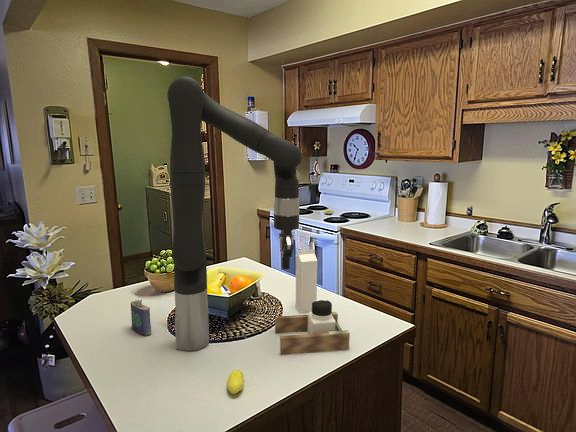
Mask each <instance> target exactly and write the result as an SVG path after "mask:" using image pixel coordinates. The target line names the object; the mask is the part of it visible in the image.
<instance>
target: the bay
mask: <svg viewBox="0 0 576 432" xmlns="http://www.w3.org/2000/svg"><path fill="white" fill-rule="evenodd" d="M332 316H333V318H334V319H335V321H336V331H330V332H328V333H315V334H308V314H296V315H295V314H294V315H279V316H274V333H275V334H276V335H277V334H278V335H279V334H287V335H280V336H279V338H280V340H279V345H280V346H279V348H280V349H279V351H280V356H286V355H297V354H310V353H320V352H321V353H322V352H323V353H324V352H337V351H347V350H350V335H351V334H350V331H349V330H348V329H347V330H343V329H342V327H341V326H340V324H339V322H338V319H339V314H338V312H337V311H332ZM305 332H307V333H306V334H305ZM290 333H291V334H290ZM293 333H301V334H293ZM302 333H303V334H302ZM288 334H290V335H288Z"/></svg>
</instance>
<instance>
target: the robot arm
mask: <svg viewBox="0 0 576 432" xmlns="http://www.w3.org/2000/svg"><path fill="white" fill-rule="evenodd" d="M166 95H167V102H168V107H169V114H170V124H171V143H170V144H171V145H170V157H169V177H170V178H169V183H170V184H169V186H170V187H169V188H170V198H171V205H172V206H171V207H172V213H173V239H172V249H171V258H172V261H173V267H174V268H173V271H174V272H173V273H174V274H173V278H174V279H173V285H174V287H173V289H174V305H175V307H174V308H175V316H174V329H175V349H176V350H181V351H185V352H194V351H199V350H202V349H204V348H206V347H208V345H209V344H210V329H209V328H210V327H209V307H208V306H209V303H208V302H209V301H208V300H209V297H208V274H207V273H208V272H207V270H208V268H207V247H206V242H205V240H204V235H203V214H204V213H203V212H204V205H205V196H206V195H205V193H206V166H205V165H206V164H205V155H204V147H203V140H202V122H203V123H206V124H207V125H210V126H212V127H213V128H215V129H217V130H219V131H221V132H222V133H224V134H225V135H227V136H229V137H230V138H232V139H233V140H234V141H236V142H237V143H239V144H241V145H243V146H244V147H246V148H248V149H250V150H251V151H253V152H255V153H256V154H257V153H258V154H260V155H262V156H265V157H266V158H267V159H269V160H271V161H273V171H274V178H275V179H274V182H275V183H274V201H273V229H276V230H278V231H280V233H278V239H279V249H280V250H279V251H280V256H281V269H282V270H290V268H291V267H290V263H291V262H290V261H291V258H292V256H293V250H294V243H293V242H294V240H295V239H294V238H295V236H294V235H293V233H292V231H295V230H298V229H299V228H300V200H299V199H300V198H299V193H300V182H299V179H298V177H297V167H299V165H300V164H301V163H302V161H303V154H302V151H301V149H300V148H299V147H298V146H297V145H296V144H294V143H293V142H290V141H288V140H286V139H285V138H282V137H280V136H279V135H277V134H274V133H273V132H271V131H270V130H269V129H267V128H265V127H263V126H262V125H260V124H258V123H257V122H255V121H253V120H252V119H250V118H248V117H245V116H243V115H242V114H240V113H237V112H235V111H233V110H231V109H229V108H227V107H225V106H224V105H222V104H220V103H219V102H217V101H216V100H214V99H213V98H212V97H211V96H209V95H208V94H207V93H206V92H205V91H204V89H203V87H202V85H201V84H200V83H199V81H197V80H195V78H192V77H190V76H186V75H183V76H179V77H177V78H175V79H173V81H171V83H170V84H169V85H168V89H167V94H166Z"/></svg>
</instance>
